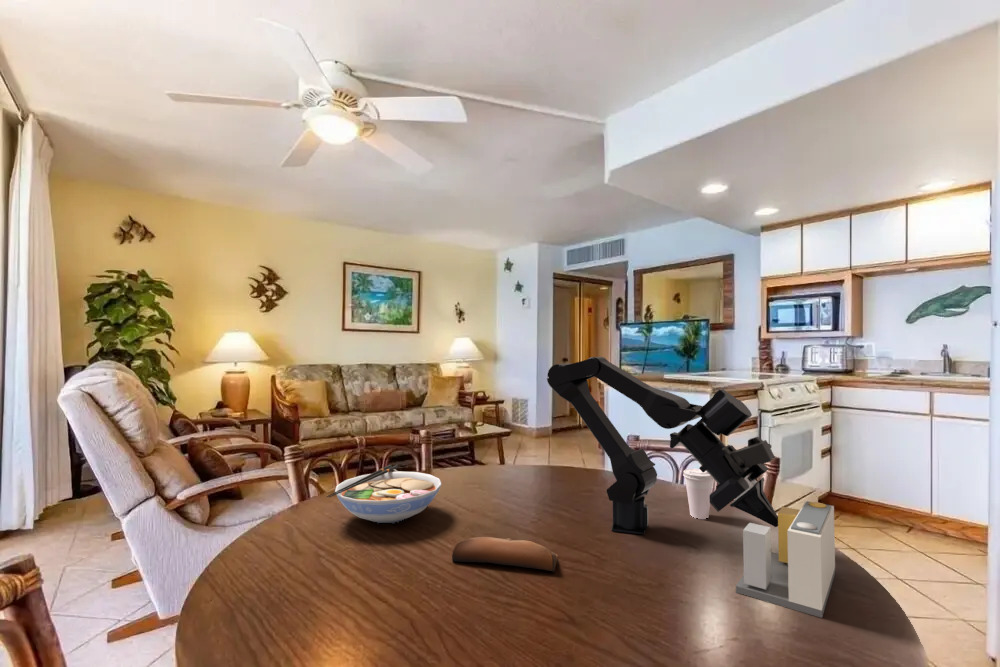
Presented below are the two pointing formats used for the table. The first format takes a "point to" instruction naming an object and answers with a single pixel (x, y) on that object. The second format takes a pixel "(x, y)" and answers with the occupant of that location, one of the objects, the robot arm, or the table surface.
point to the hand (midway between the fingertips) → (778, 525)
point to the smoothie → (698, 492)
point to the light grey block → (757, 555)
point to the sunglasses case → (505, 553)
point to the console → (802, 564)
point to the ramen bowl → (388, 494)
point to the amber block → (785, 530)
